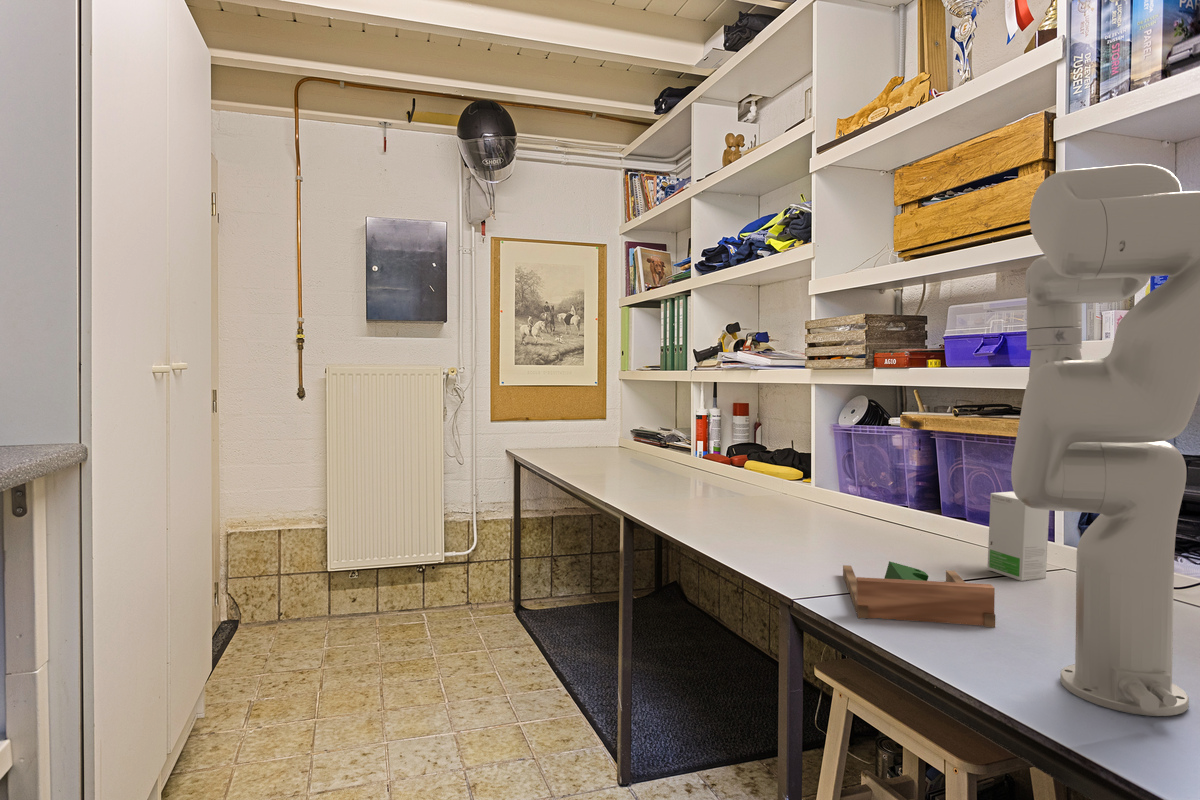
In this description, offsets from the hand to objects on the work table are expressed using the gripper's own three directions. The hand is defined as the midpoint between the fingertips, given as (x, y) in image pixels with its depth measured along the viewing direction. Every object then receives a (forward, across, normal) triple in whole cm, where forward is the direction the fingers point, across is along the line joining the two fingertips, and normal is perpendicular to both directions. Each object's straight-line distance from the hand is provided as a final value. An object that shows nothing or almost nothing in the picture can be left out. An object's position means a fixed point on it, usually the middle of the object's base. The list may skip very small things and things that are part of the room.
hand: (1053, 453), depth 115 cm
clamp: (+26, +1, +22) cm, 34 cm away
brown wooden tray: (+26, +4, +21) cm, 34 cm away
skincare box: (+26, +24, -3) cm, 35 cm away
